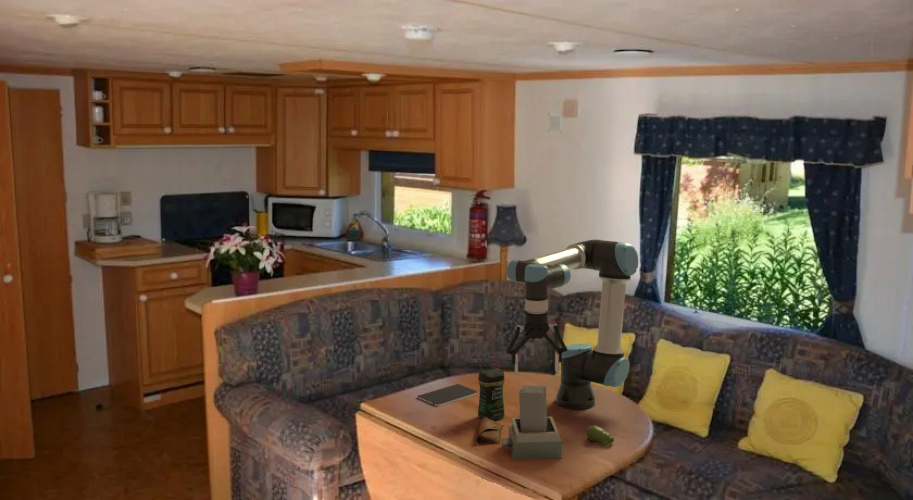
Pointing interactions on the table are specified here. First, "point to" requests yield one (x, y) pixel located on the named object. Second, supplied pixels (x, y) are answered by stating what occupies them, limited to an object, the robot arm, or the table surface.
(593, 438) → the pear
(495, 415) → the coffee jar
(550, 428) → the grey open rectangular box
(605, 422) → the table surface
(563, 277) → the robot arm
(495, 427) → the sunglasses case
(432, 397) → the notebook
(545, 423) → the skincare box
